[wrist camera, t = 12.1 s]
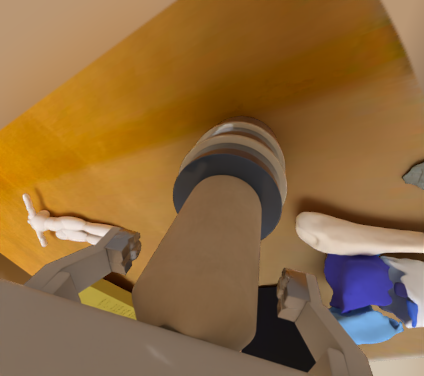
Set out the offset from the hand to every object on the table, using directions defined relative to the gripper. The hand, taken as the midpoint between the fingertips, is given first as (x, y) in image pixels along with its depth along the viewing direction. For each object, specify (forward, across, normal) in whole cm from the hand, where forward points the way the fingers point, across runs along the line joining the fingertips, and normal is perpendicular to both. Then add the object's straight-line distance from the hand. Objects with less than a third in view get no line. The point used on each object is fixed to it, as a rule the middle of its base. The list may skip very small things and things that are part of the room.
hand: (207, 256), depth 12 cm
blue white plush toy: (+16, -21, +10) cm, 28 cm away
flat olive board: (+12, +28, +32) cm, 44 cm away
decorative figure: (+16, +26, +19) cm, 36 cm away
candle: (+5, 0, 0) cm, 5 cm away
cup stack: (+16, 0, 0) cm, 16 cm away
